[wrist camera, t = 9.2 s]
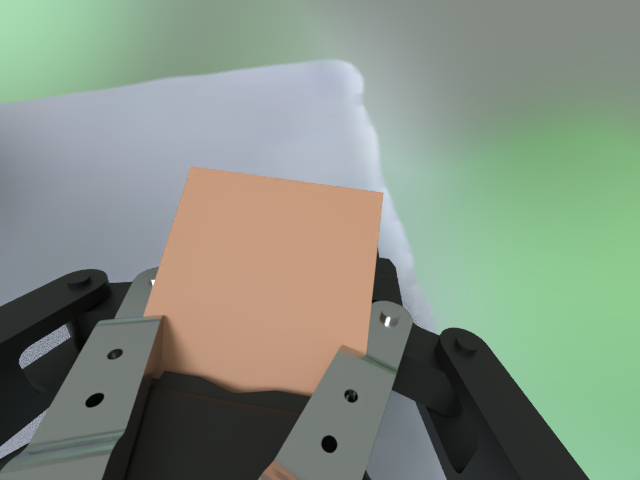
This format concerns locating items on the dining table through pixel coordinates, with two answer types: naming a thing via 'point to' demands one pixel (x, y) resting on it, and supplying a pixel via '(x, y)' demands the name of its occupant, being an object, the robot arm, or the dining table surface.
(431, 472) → the dining table surface
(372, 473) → the dining table surface
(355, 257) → the terracotta block
